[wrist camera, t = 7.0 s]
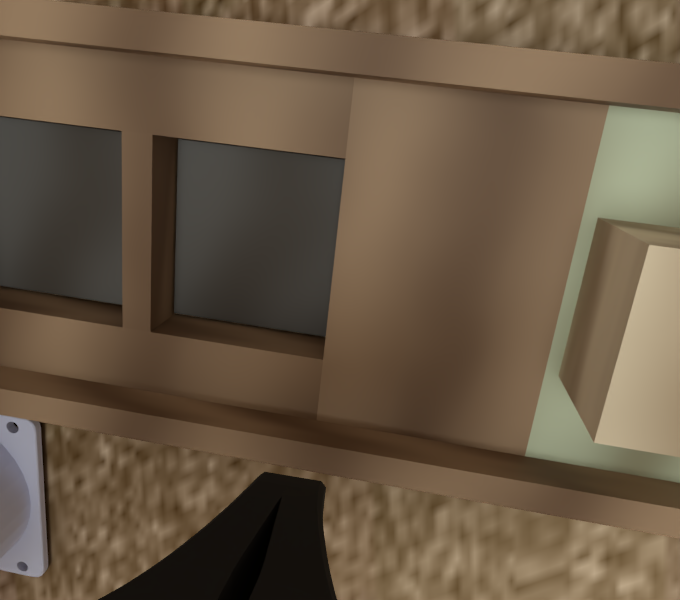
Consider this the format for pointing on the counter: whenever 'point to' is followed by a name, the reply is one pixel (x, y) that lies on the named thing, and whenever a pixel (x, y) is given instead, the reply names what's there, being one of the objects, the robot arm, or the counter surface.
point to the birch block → (628, 338)
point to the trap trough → (324, 247)
